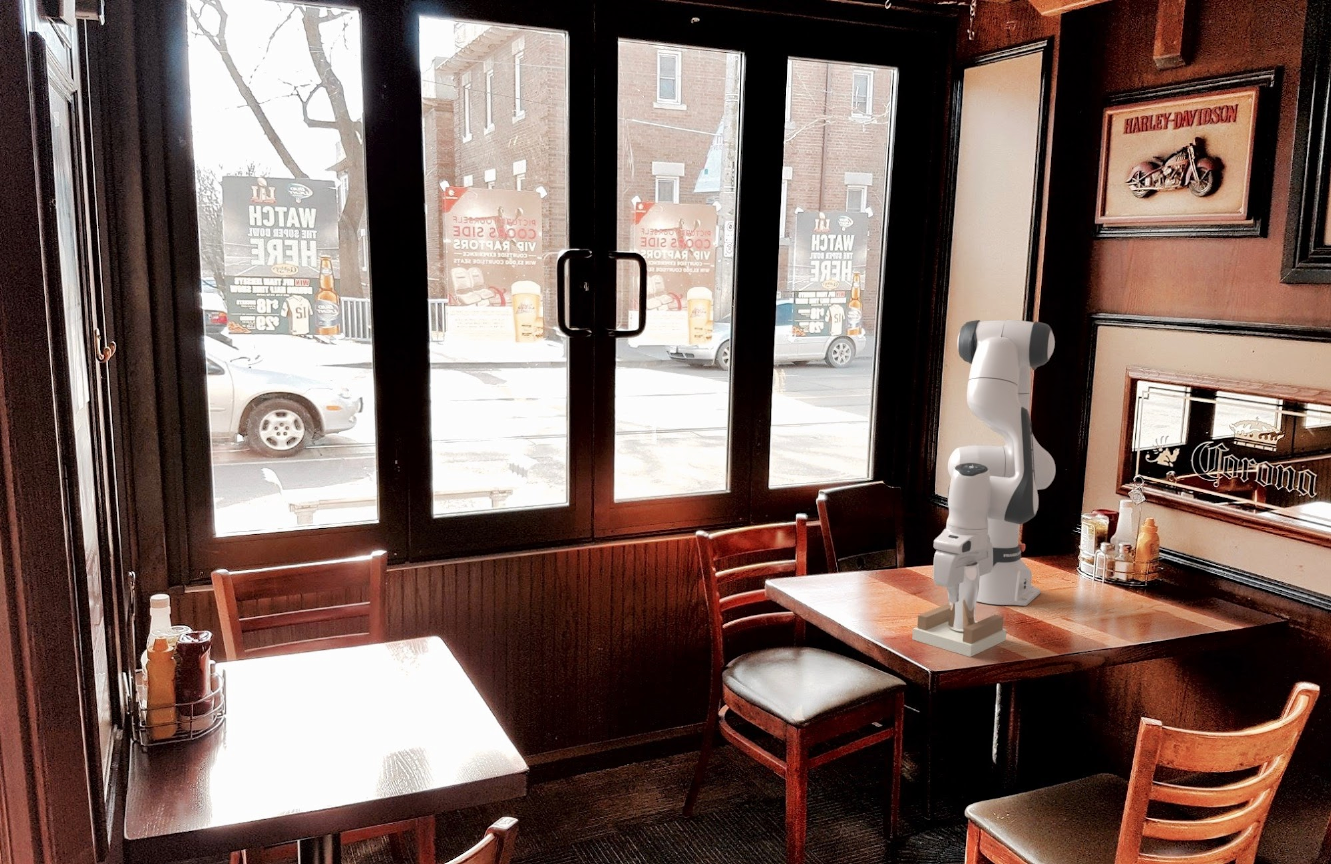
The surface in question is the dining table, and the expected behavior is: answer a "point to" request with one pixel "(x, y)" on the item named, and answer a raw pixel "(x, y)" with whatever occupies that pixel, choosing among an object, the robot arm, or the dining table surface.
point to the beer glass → (965, 600)
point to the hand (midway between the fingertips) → (962, 598)
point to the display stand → (958, 632)
